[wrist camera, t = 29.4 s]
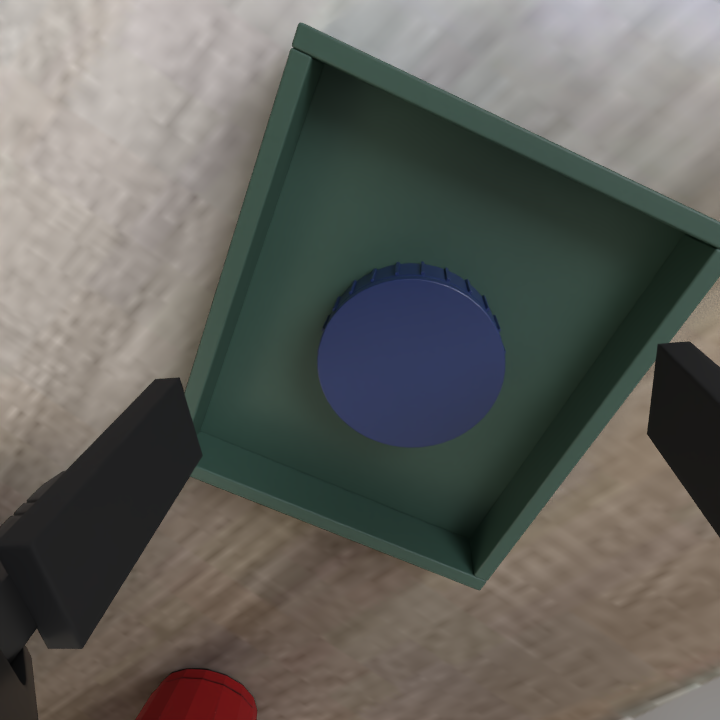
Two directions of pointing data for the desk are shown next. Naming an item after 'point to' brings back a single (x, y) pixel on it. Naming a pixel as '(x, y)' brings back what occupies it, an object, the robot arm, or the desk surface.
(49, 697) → the desk surface
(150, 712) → the plastic cup
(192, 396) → the tray
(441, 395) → the jar lid
